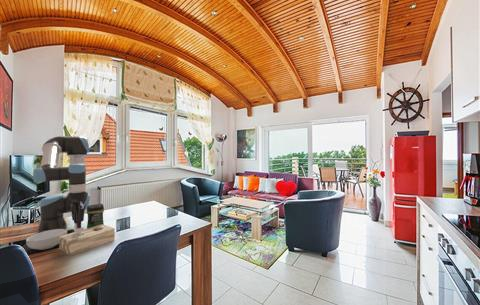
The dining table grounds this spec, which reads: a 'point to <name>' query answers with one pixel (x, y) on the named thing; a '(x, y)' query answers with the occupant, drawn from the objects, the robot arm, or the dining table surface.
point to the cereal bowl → (45, 239)
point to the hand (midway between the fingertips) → (78, 233)
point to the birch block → (86, 239)
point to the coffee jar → (95, 215)
